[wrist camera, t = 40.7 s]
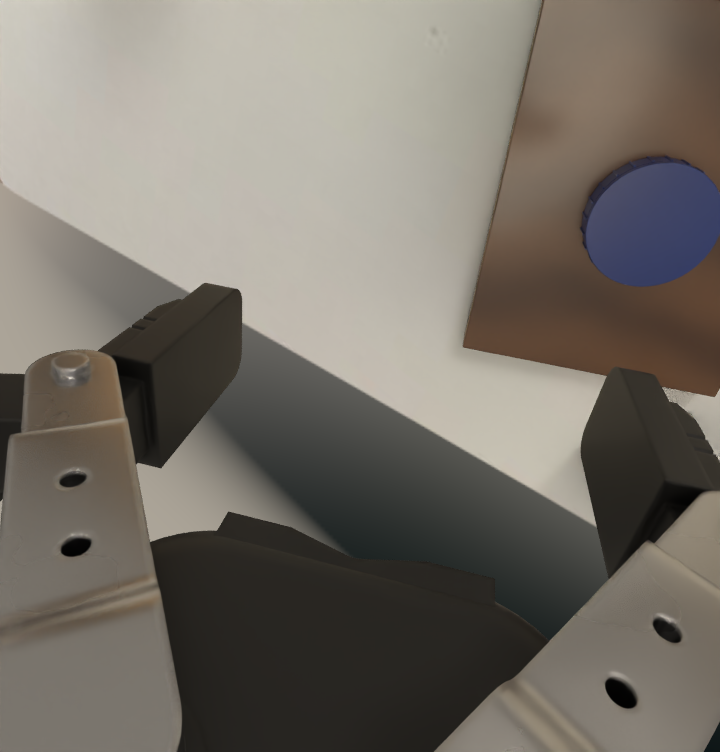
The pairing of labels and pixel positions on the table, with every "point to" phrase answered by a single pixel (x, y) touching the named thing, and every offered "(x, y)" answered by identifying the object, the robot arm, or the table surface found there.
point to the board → (581, 177)
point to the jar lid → (651, 221)
